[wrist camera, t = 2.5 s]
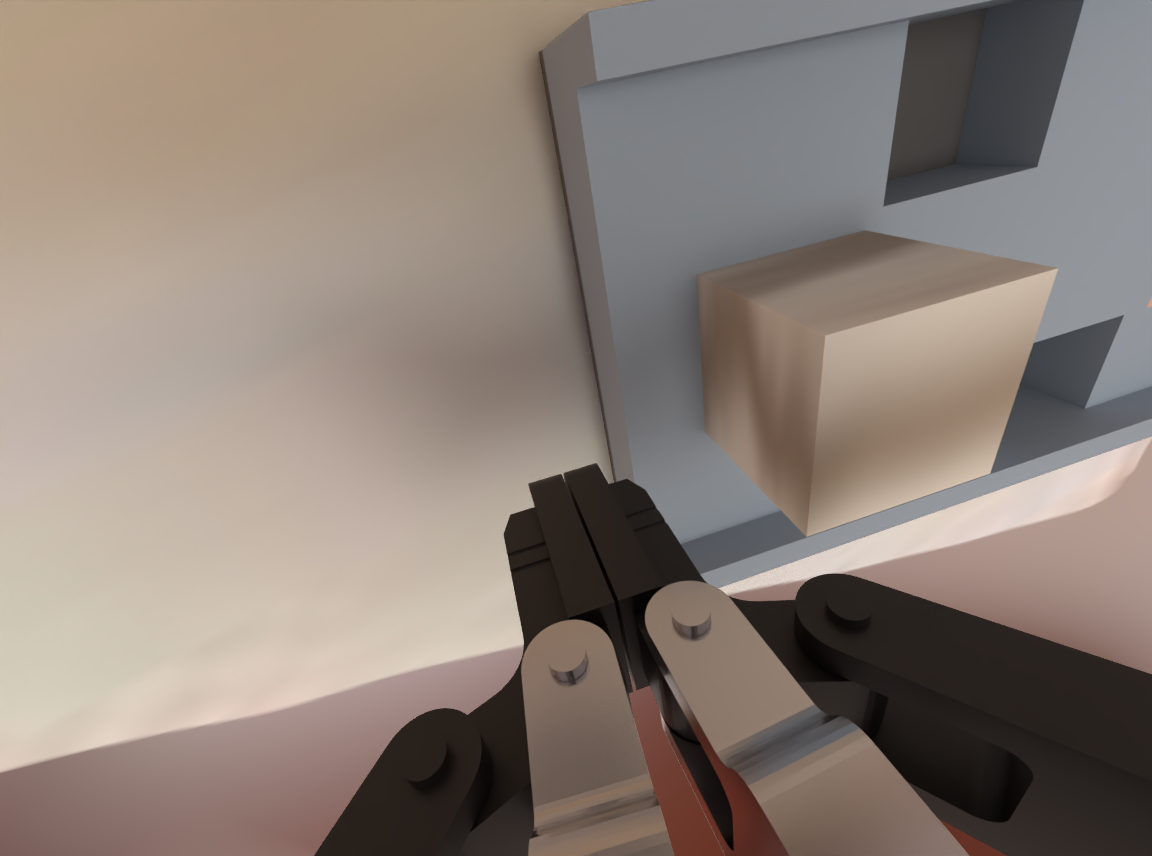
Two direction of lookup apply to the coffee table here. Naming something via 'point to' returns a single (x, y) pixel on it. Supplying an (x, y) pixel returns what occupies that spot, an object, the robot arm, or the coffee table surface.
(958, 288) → the cream cube
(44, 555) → the coffee table surface
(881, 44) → the track
